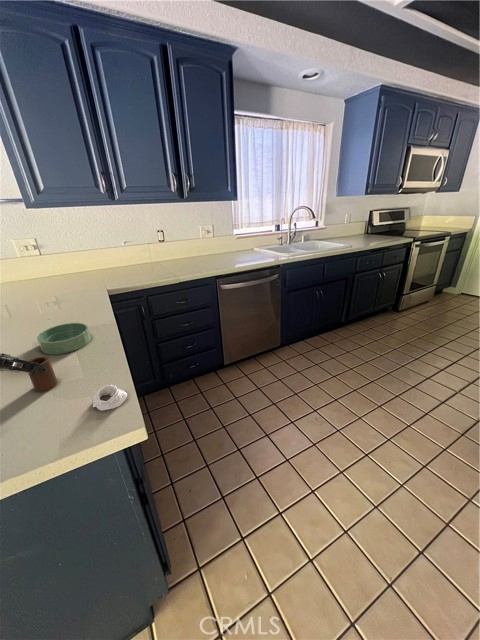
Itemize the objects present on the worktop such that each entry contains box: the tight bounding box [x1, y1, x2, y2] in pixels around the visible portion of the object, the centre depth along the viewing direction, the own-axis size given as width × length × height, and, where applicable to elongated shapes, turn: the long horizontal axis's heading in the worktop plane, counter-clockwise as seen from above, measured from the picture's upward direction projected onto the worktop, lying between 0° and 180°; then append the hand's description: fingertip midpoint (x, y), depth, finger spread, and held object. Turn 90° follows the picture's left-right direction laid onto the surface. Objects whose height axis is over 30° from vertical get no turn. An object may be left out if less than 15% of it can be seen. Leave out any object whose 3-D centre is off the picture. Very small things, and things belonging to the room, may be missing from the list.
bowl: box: [36, 322, 92, 355], centre depth 94 cm, size 15×15×5 cm
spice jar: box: [27, 355, 59, 393], centre depth 72 cm, size 5×5×8 cm
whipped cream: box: [92, 384, 128, 411], centre depth 67 cm, size 8×7×5 cm
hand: (31, 368), depth 69 cm, fingers open, 8 cm apart
